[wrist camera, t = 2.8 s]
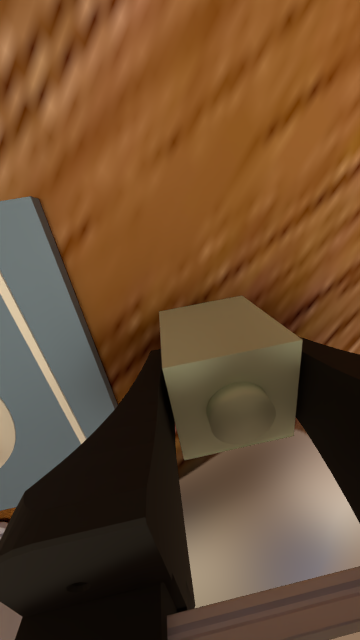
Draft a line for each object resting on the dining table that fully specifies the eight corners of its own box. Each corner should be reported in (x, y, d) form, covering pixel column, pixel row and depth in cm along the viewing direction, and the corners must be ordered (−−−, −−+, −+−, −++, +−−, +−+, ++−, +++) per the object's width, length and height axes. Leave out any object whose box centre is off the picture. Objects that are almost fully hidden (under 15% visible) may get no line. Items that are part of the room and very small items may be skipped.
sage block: (244, 363, 13) (303, 450, 8) (173, 378, 13) (186, 476, 8) (241, 295, 11) (316, 349, 6) (158, 311, 11) (162, 381, 6)
